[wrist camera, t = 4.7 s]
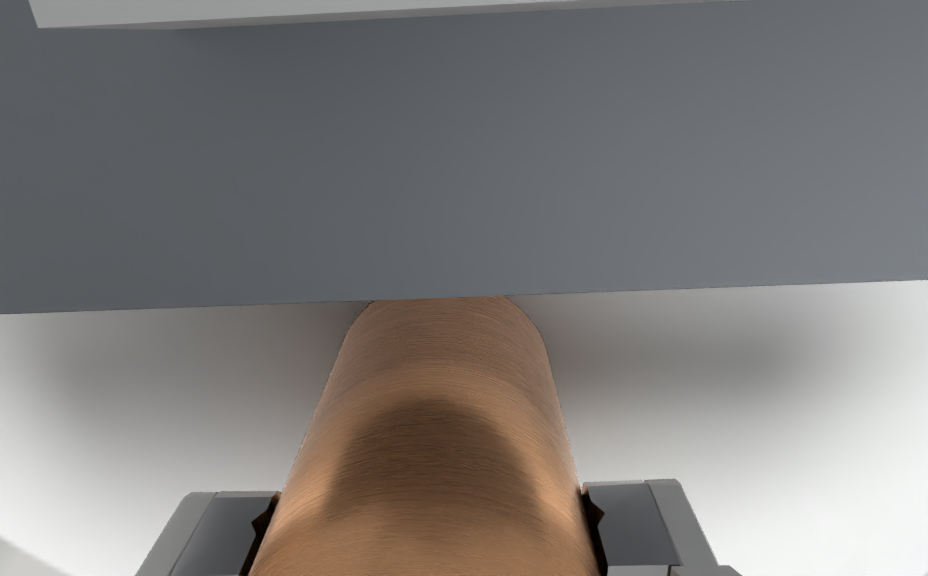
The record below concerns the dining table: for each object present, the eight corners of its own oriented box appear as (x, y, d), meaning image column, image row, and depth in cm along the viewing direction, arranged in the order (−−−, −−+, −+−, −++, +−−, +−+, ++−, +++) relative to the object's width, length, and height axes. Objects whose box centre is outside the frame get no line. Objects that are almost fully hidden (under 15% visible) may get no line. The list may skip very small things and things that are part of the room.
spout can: (318, 280, 12) (-4, 810, 4) (556, 270, 12) (750, 801, 4) (360, 520, 15) (232, 1097, 7) (549, 515, 15) (646, 1098, 7)
